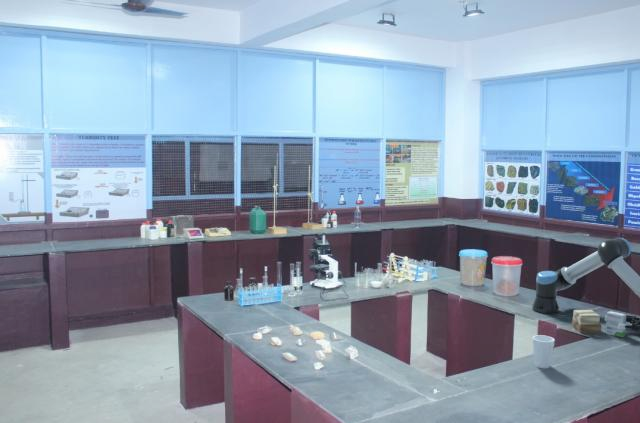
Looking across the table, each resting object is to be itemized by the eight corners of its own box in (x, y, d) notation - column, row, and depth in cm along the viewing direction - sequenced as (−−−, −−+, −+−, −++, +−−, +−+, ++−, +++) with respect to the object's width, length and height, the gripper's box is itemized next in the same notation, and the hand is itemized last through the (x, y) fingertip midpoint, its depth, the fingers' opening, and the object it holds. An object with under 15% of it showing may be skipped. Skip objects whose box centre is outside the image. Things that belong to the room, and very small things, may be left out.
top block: (572, 318, 315) (573, 309, 314) (591, 318, 314) (591, 310, 314) (580, 324, 305) (581, 315, 304) (599, 324, 304) (599, 315, 304)
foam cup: (534, 369, 258) (535, 341, 256) (529, 361, 267) (530, 334, 265) (555, 370, 256) (557, 342, 255) (550, 362, 265) (551, 335, 264)
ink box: (625, 335, 301) (627, 314, 299) (622, 337, 297) (623, 316, 296) (608, 331, 307) (609, 310, 305) (605, 333, 304) (606, 312, 302)
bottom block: (571, 327, 316) (572, 318, 315) (591, 327, 315) (592, 318, 315) (580, 333, 305) (580, 324, 304) (600, 333, 304) (601, 324, 304)
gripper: (665, 337, 289) (623, 337, 289) (637, 321, 314) (599, 321, 314) (666, 322, 288) (624, 323, 288) (638, 308, 313) (600, 308, 313)
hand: (611, 322), depth 301 cm, fingers open, 13 cm apart
